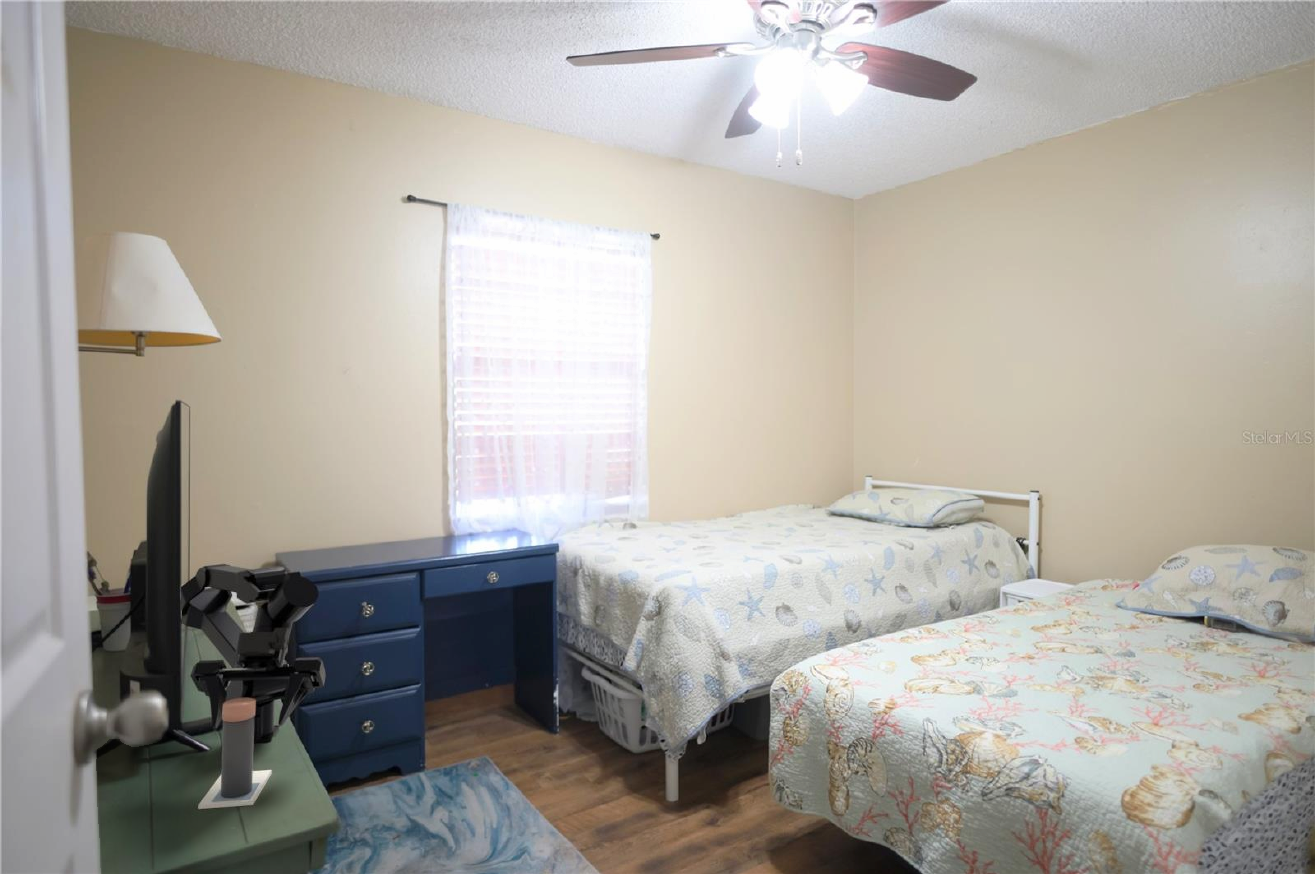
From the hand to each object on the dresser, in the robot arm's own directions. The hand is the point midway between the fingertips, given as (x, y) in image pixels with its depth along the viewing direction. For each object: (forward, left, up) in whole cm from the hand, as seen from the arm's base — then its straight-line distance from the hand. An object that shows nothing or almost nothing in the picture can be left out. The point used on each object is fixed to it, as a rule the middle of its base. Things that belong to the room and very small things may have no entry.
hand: (247, 726), depth 115 cm
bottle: (+6, 0, -7) cm, 9 cm away
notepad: (+4, 0, -8) cm, 9 cm away
